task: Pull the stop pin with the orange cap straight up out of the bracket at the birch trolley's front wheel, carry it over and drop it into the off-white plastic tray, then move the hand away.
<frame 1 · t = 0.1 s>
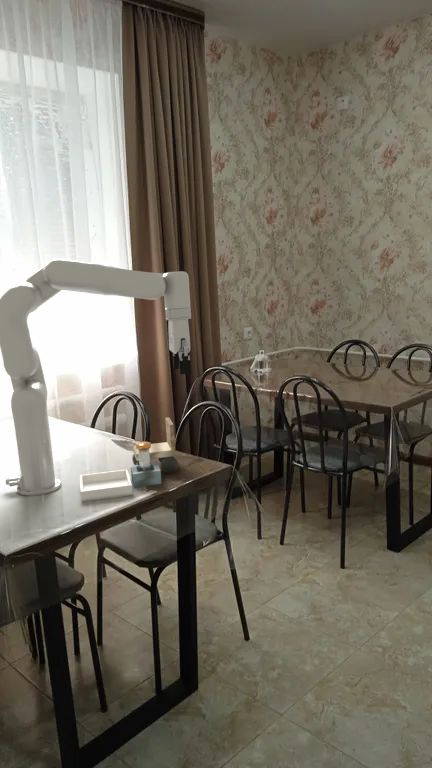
hand: (182, 371, 189), 31 cm above the table, tool pointing down, fingers open, 9 cm apart
tray: (106, 489, 182), on the table
stop pin: (146, 481, 187), resting in trolley
trolley: (155, 469, 197), on the table
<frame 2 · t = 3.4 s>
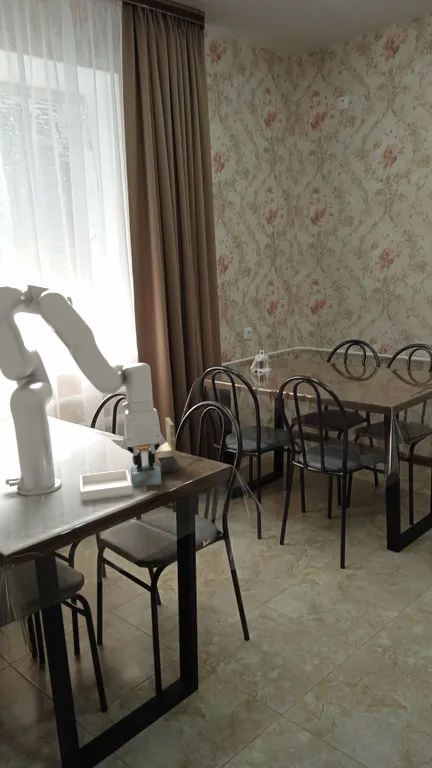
hand: (145, 465, 186), 5 cm above the table, tool pointing down, fingers closed on stop pin, 3 cm apart
stop pin: (146, 481, 187), resting in trolley, touching gripper
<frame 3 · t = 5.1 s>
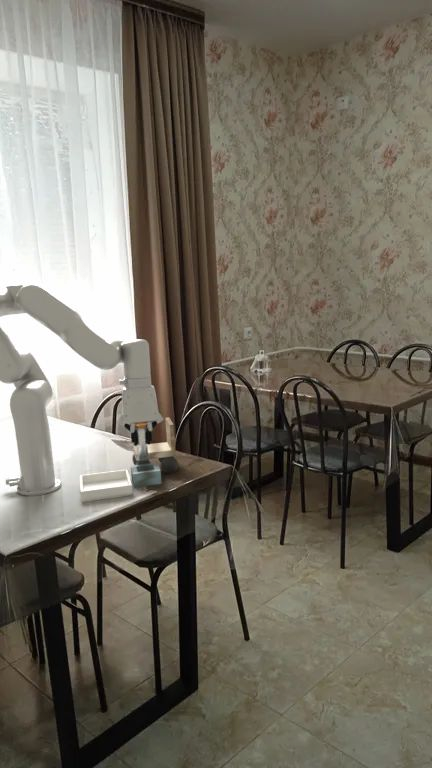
hand: (141, 443, 185), 12 cm above the table, tool pointing down, fingers closed on stop pin, 3 cm apart
stop pin: (142, 459, 186), point 7 cm above the table, touching gripper
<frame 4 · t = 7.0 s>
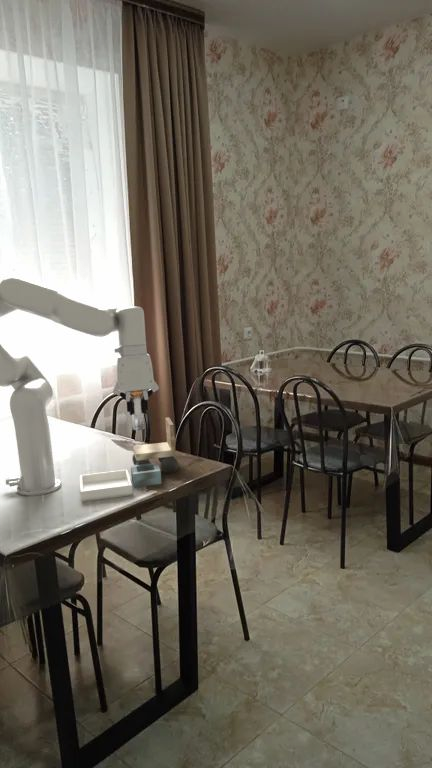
hand: (137, 412, 183), 21 cm above the table, tool pointing down, fingers closed on stop pin, 3 cm apart
stop pin: (138, 428, 183), point 16 cm above the table, touching gripper
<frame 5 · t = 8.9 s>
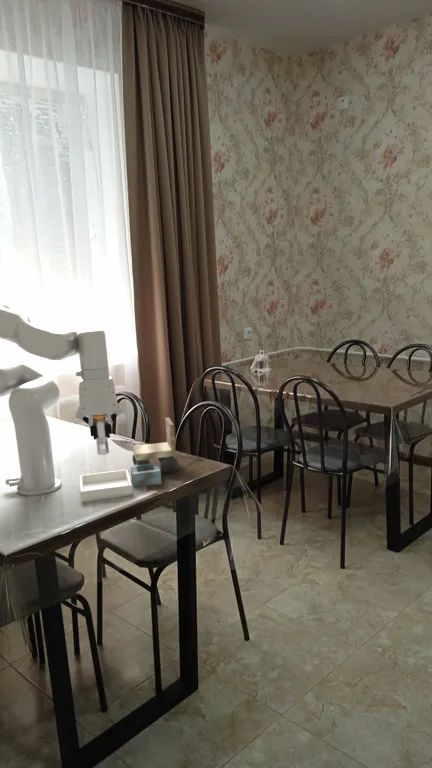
hand: (101, 436, 178), 16 cm above the table, tool pointing down, fingers closed on stop pin, 3 cm apart
stop pin: (103, 452, 179), point 11 cm above the table, touching gripper
when the fingers open (7 cm above the table, at t = 10.6 s): stop pin drops 2 cm, resting on tray.
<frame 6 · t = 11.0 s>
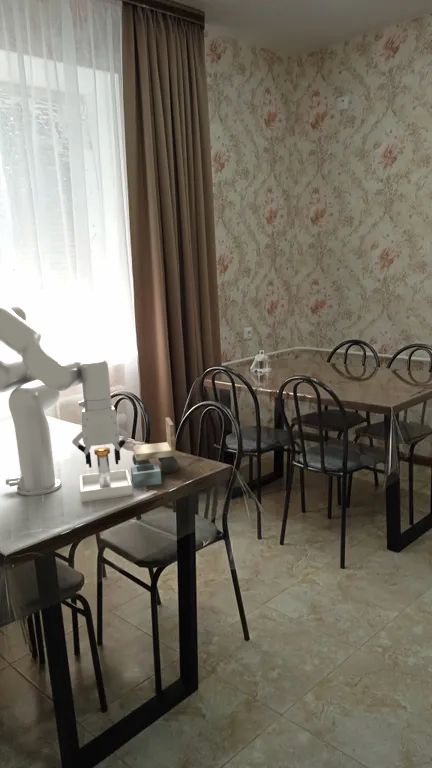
hand: (103, 464, 180), 8 cm above the table, tool pointing down, fingers open, 7 cm apart
stop pin: (105, 487, 182), point 1 cm above the table, touching tray
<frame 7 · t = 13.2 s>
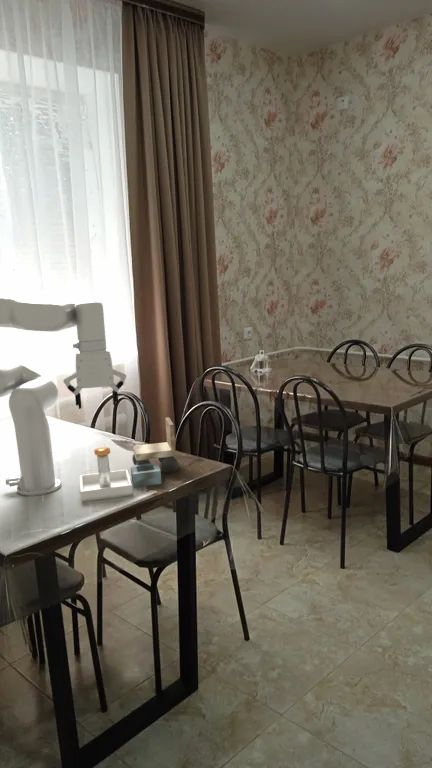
hand: (97, 406, 178), 25 cm above the table, tool pointing down, fingers open, 9 cm apart
nothing on the table moved.
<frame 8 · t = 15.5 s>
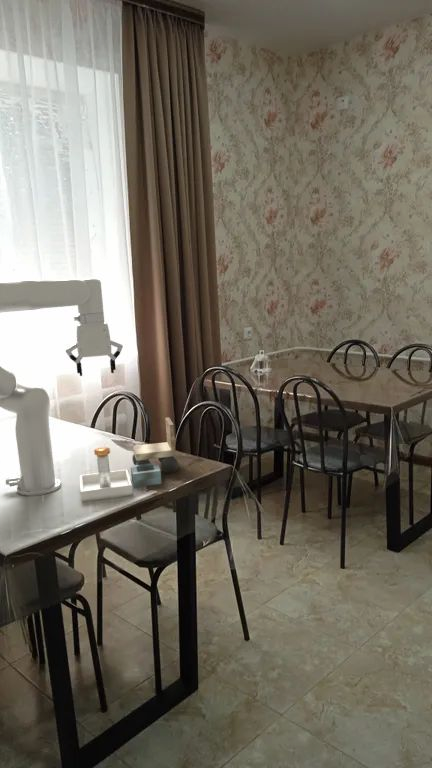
hand: (96, 374, 196), 30 cm above the table, tool pointing down, fingers open, 9 cm apart
nothing on the table moved.
at the end: stop pin inside the target area on the tray (0.0 cm from its centre), point 0.6 cm above the tray's base; the gripper is holding nothing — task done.
